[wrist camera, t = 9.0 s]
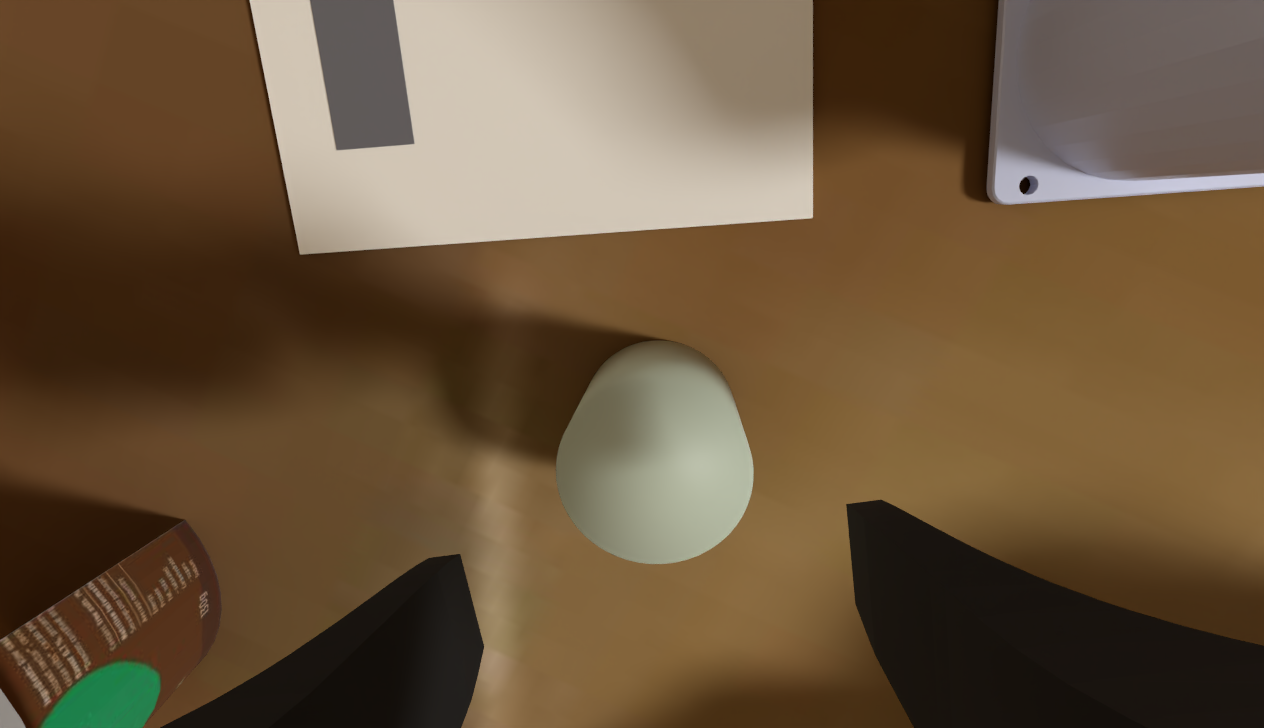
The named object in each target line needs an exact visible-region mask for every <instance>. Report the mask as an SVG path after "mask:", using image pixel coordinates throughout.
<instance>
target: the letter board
mask: <svg viewBox="0 0 1264 728" xmlns="http://www.w3.org/2000/svg"><path fill="white" fill-rule="evenodd" d="M250 5H251V10H252V15H253V20H254V25H255V30H256V35H257V40H258V45H259V50H260V55H261V61H262V66H263V71H264V76H265V81H266V86H267V91H268V96H269V101H270V106H271V111H272V116H273V121H274V126H275V131H276V136H277V141H278V146H279V151H280V156H281V161H282V167H283V172H284V177H285V182H286V187H287V192H288V197H289V202H290V207H291V212H292V217H293V222H294V227H295V232H296V237H297V242H298V247H299V252H300V255H301V254H315V253H329V252H343V251H357V250H371V249H385V248H399V247H413V246H427V245H442V244H456V243H470V242H484V241H498V240H512V239H526V238H540V237H554V236H568V235H582V234H596V233H610V232H624V231H638V230H652V229H667V228H681V227H695V226H709V225H723V224H737V223H751V222H765V221H779V220H793V219H807V218H813V0H250Z"/></svg>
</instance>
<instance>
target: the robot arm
mask: <svg viewBox="0 0 1264 728" xmlns="http://www.w3.org/2000/svg"><path fill="white" fill-rule="evenodd" d="M1024 177H1027V178H1028V179H1029V180H1030V188H1029V190H1028V191H1027V192H1026V193H1025V194H1023V193H1022V192H1021V191H1020V188H1019V185H1020V182H1021V180H1022V179H1023V178H1024ZM1262 186H1264V0H999V4H998V19H997V35H996V50H995V65H994V81H993V96H992V111H991V127H990V142H989V157H988V172H987V188H986V189H987V195H988V197H989V198H990V200H991V201H993V202H994V203H996V204H1002V205H1009V204H1023V203H1037V202H1051V201H1065V200H1079V199H1093V198H1107V197H1121V196H1136V195H1150V194H1164V193H1178V192H1192V191H1206V190H1220V189H1234V188H1248V187H1262ZM846 506H847V516H848V527H849V538H850V549H851V560H852V571H853V581H854V592H855V603H856V606H857V609H858V612H859V614H860V617H861V620H862V622H863V625H864V628H865V630H866V633H867V635H868V638H869V640H870V643H871V645H872V648H873V650H874V653H875V655H876V657H877V659H878V661H879V663H880V665H881V667H882V669H883V671H884V672H885V674H886V676H887V678H888V680H889V682H890V684H891V686H892V687H893V689H894V691H895V693H896V695H897V697H898V699H899V701H900V702H901V704H902V706H903V708H904V710H905V712H906V713H907V715H908V717H909V719H910V721H911V723H912V725H913V726H914V728H1264V646H1262V645H1258V644H1253V643H1249V642H1245V641H1240V640H1236V639H1231V638H1227V637H1224V636H1220V635H1216V634H1212V633H1208V632H1204V631H1200V630H1196V629H1192V628H1189V627H1185V626H1181V625H1178V624H1175V623H1171V622H1168V621H1164V620H1161V619H1158V618H1154V617H1151V616H1147V615H1144V614H1141V613H1137V612H1134V611H1130V610H1127V609H1124V608H1121V607H1118V606H1115V605H1112V604H1109V603H1106V602H1103V601H1100V600H1097V599H1094V598H1092V597H1089V596H1086V595H1084V594H1081V593H1078V592H1075V591H1073V590H1070V589H1067V588H1065V587H1062V586H1059V585H1057V584H1054V583H1051V582H1049V581H1046V580H1044V579H1041V578H1039V577H1037V576H1034V575H1032V574H1029V573H1027V572H1025V571H1023V570H1020V569H1018V568H1016V567H1014V566H1012V565H1009V564H1007V563H1005V562H1003V561H1000V560H998V559H996V558H994V557H992V556H990V555H988V554H986V553H983V552H981V551H979V550H977V549H975V548H973V547H971V546H969V545H967V544H965V543H963V542H961V541H959V540H957V539H955V538H954V537H952V536H950V535H948V534H946V533H944V532H942V531H940V530H938V529H936V528H935V527H933V526H931V525H929V524H927V523H925V522H923V521H922V520H920V519H918V518H916V517H914V516H912V515H911V514H909V513H907V512H905V511H903V510H901V509H899V508H897V507H895V506H894V505H892V504H889V503H887V502H885V501H883V500H876V501H868V502H860V503H852V504H846ZM483 649H484V644H483V641H482V637H481V633H480V629H479V625H478V621H477V617H476V614H475V610H474V606H473V602H472V598H471V594H470V590H469V587H468V583H467V579H466V575H465V571H464V567H463V563H462V560H461V556H460V554H456V555H449V556H441V557H433V558H428V559H427V560H425V561H423V562H421V563H420V564H418V565H416V566H415V567H413V568H412V569H410V570H409V571H407V572H406V573H404V574H403V575H402V576H400V577H399V578H397V579H396V580H395V581H393V582H392V583H390V584H389V585H388V586H386V587H385V588H383V589H382V590H381V591H379V592H378V593H377V594H375V595H374V596H372V597H371V598H370V599H368V600H367V601H366V602H364V603H363V604H361V605H360V606H359V607H357V608H356V609H355V610H353V611H352V612H351V613H349V614H348V615H346V616H345V617H344V618H342V619H341V620H339V621H338V622H337V623H335V624H334V625H332V626H331V627H329V628H328V629H326V630H325V631H323V632H322V633H320V634H319V635H318V636H316V637H315V638H313V639H312V640H310V641H309V642H307V643H306V644H304V645H303V646H301V647H300V648H298V649H297V650H296V651H294V652H293V653H291V654H290V655H288V656H287V657H285V658H284V659H282V660H280V661H279V662H277V663H276V664H274V665H273V666H271V667H269V668H268V669H266V670H264V671H263V672H261V673H260V674H258V675H256V676H255V677H253V678H251V679H249V680H248V681H246V682H244V683H243V684H241V685H239V686H237V687H236V688H234V689H232V690H231V691H229V692H227V693H225V694H224V695H222V696H220V697H218V698H217V699H215V700H213V701H211V702H209V703H207V704H205V705H203V706H202V707H200V708H198V709H196V710H194V711H192V712H190V713H188V714H186V715H184V716H182V717H180V718H178V719H176V720H174V721H172V722H170V723H168V724H166V725H164V726H163V727H161V728H461V726H462V724H463V721H464V719H465V716H466V713H467V711H468V708H469V705H470V702H471V699H472V696H473V692H474V688H475V684H476V680H477V676H478V672H479V667H480V663H481V658H482V654H483Z"/></svg>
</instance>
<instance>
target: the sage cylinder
mask: <svg viewBox="0 0 1264 728" xmlns="http://www.w3.org/2000/svg"><path fill="white" fill-rule="evenodd" d="M556 481H557V486H558V491H559V495H560V498H561V500H562V503H563V506H564V508H565V510H566V512H567V513H568V515H569V517H570V518H571V520H572V521H573V523H574V524H575V525H576V527H577V528H578V529H579V530H580V531H581V532H582V533H583V534H584V535H585V536H586V537H587V538H588V539H589V540H590V541H592V542H593V543H594V544H596V545H597V546H599V547H600V548H602V549H603V550H605V551H607V552H609V553H611V554H613V555H615V556H618V557H620V558H623V559H626V560H630V561H634V562H639V563H647V564H666V563H675V562H679V561H684V560H687V559H690V558H693V557H696V556H698V555H700V554H702V553H704V552H706V551H708V550H710V549H711V548H713V547H714V546H716V545H717V544H719V543H720V542H721V541H722V540H723V539H724V538H725V537H727V536H728V535H729V534H730V532H731V531H732V530H733V529H734V528H735V527H736V525H737V524H738V522H739V521H740V519H741V518H742V516H743V514H744V512H745V510H746V508H747V506H748V503H749V499H750V496H751V492H752V486H753V461H752V455H751V452H750V448H749V445H748V441H747V438H746V435H745V432H744V429H743V426H742V423H741V420H740V417H739V414H738V411H737V408H736V405H735V401H734V398H733V395H732V392H731V389H730V387H729V385H728V382H727V380H726V379H725V377H724V375H723V374H722V372H721V371H720V370H719V368H718V367H717V366H716V365H715V364H714V363H713V362H712V361H711V360H710V359H709V358H708V357H706V356H705V355H703V354H702V353H701V352H699V351H697V350H695V349H694V348H692V347H689V346H687V345H684V344H681V343H677V342H673V341H664V340H652V341H645V342H640V343H636V344H633V345H630V346H628V347H626V348H623V349H622V350H620V351H618V352H617V353H615V354H614V355H612V356H611V357H610V358H609V359H607V360H606V361H605V362H604V363H603V365H602V366H601V367H600V368H599V369H598V371H597V372H596V373H595V375H594V377H593V378H592V380H591V382H590V384H589V386H588V388H587V390H586V392H585V394H584V396H583V398H582V400H581V402H580V403H579V405H578V407H577V409H576V411H575V413H574V415H573V417H572V419H571V421H570V423H569V425H568V427H567V429H566V431H565V433H564V434H563V437H562V440H561V442H560V445H559V449H558V454H557V460H556Z"/></svg>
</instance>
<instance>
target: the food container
mask: <svg viewBox="0 0 1264 728" xmlns="http://www.w3.org/2000/svg"><path fill="white" fill-rule="evenodd" d="M221 610H222V609H221V592H220V588H219V583H218V579H217V574H216V572H215V569H214V567H213V564H212V562H211V559H210V557H209V555H208V553H207V551H206V549H205V548H204V546H203V544H202V542H201V541H200V539H199V537H198V536H197V535H196V533H195V532H194V531H193V530H192V528H191V527H190V526H189V524H188V523H187V522H186V520H184V521H182V522H181V523H179V524H178V525H176V526H175V527H173V528H172V529H170V530H168V531H167V532H165V533H164V534H162V535H161V536H159V537H158V538H156V539H155V540H153V541H152V542H150V543H148V544H147V545H145V546H144V547H142V548H141V549H139V550H138V551H136V552H135V553H133V554H132V555H130V556H128V557H127V558H125V559H124V560H122V561H121V562H119V563H118V564H116V565H115V566H113V567H111V568H110V569H108V570H107V571H105V572H104V573H102V574H101V575H99V576H98V577H96V578H95V579H93V580H91V581H90V582H88V583H87V584H85V585H84V586H82V587H81V588H79V589H78V590H76V591H75V592H73V593H71V594H70V595H68V596H67V597H65V598H64V599H62V600H61V601H59V602H58V603H56V604H54V605H53V606H51V607H50V608H48V609H47V610H45V611H44V612H42V613H41V614H39V615H38V616H36V617H34V618H33V619H31V620H30V621H28V622H27V623H25V624H24V625H22V626H21V627H19V628H18V629H16V630H14V631H13V632H11V633H10V634H8V635H7V636H5V637H4V638H2V639H1V640H0V728H142V727H143V726H144V725H145V724H146V723H147V721H148V720H149V719H150V718H151V717H152V716H153V715H154V714H155V712H156V711H157V710H158V709H159V708H160V707H161V706H162V704H163V703H164V702H165V701H166V700H167V699H168V698H169V697H170V695H171V694H172V693H173V692H174V691H175V690H176V689H177V687H178V686H179V685H180V684H181V683H182V682H183V681H184V680H185V678H186V677H187V676H188V675H189V674H190V673H191V672H192V670H193V669H194V668H195V667H196V666H197V665H198V664H199V663H200V661H201V660H202V659H203V658H204V657H205V656H206V655H207V653H208V651H209V650H210V648H211V646H212V644H213V643H214V641H215V638H216V635H217V632H218V629H219V626H220V618H221Z"/></svg>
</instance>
